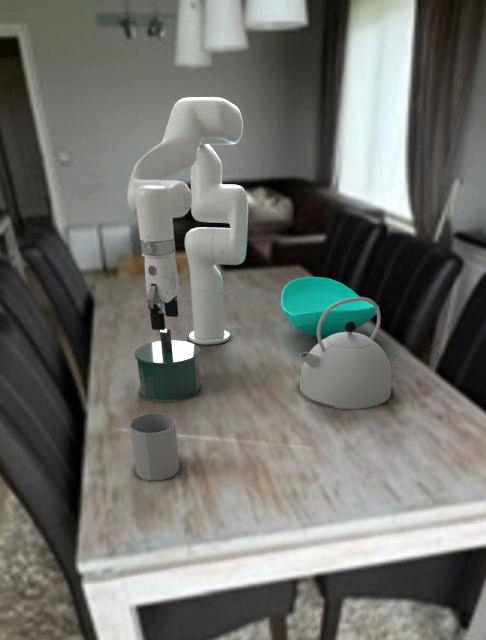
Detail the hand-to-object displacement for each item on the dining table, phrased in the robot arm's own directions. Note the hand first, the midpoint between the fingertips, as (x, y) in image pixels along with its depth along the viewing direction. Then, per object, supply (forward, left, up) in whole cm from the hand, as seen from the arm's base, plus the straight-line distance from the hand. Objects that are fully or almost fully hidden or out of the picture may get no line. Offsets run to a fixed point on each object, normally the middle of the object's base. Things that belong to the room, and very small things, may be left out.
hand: (165, 322), depth 136 cm
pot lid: (+3, +1, -7) cm, 7 cm away
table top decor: (-47, +35, -16) cm, 61 cm away
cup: (+40, +11, -16) cm, 45 cm away
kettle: (-5, +43, -16) cm, 46 cm away
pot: (+3, +1, -16) cm, 16 cm away
